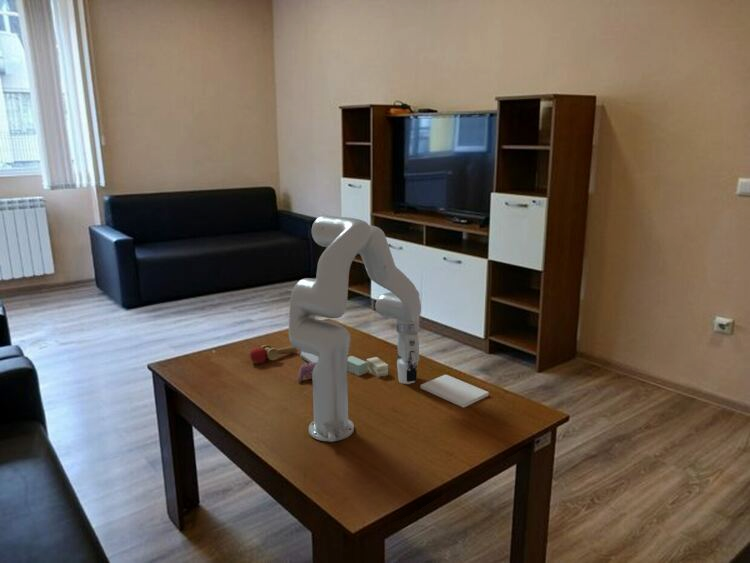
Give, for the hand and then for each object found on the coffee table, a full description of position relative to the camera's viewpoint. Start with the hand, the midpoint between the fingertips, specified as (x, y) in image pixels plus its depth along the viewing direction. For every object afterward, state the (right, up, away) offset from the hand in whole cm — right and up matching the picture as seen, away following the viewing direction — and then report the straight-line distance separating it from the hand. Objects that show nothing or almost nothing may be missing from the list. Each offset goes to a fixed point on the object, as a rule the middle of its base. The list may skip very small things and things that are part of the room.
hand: (407, 374), depth 195 cm
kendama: (-48, +3, +19) cm, 51 cm away
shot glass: (0, -2, +1) cm, 2 cm away
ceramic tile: (+14, -4, -8) cm, 17 cm away
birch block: (-10, 0, +7) cm, 12 cm away
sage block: (-18, 0, +8) cm, 19 cm away
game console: (-31, +2, +17) cm, 35 cm away
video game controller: (-31, -2, +1) cm, 31 cm away
